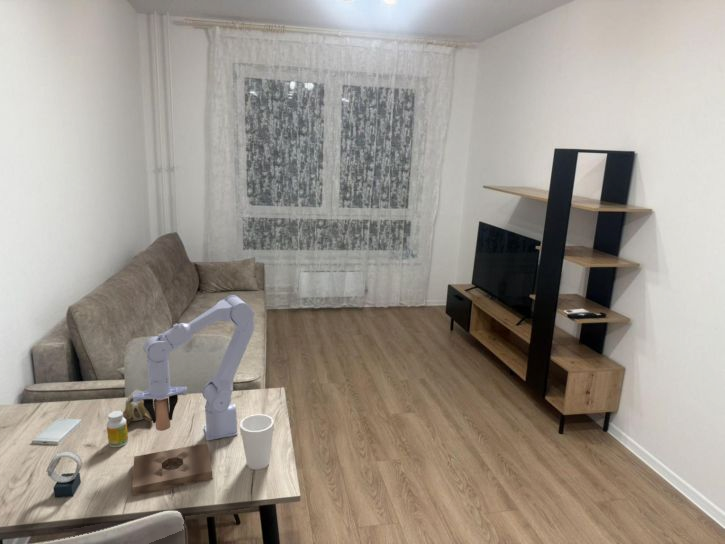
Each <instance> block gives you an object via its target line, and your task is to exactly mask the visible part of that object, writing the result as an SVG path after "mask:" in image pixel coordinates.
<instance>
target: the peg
mask: <svg viewBox="0 0 725 544" xmlns="http://www.w3.org/2000/svg"><path fill="white" fill-rule="evenodd" d="M153 404H154V411H155V423H154V424H155V429H156V431H159V432H161V431H166V430H168V429H170V428H171V420H170V415H169V397H166V398H164V399H163V400H156V399H153Z"/></svg>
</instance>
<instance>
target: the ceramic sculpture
mask: <svg viewBox="0 0 725 544" xmlns="http://www.w3.org/2000/svg"><path fill="white" fill-rule="evenodd" d="M140 392H143V391H142V390H140V389H139V388H135V390H134V391H132V392H131V393H130V395H128V397H127V400H126V401H125V409H124V411H122V412H123V417H124V418H125V419H126V423H127V426H128V425H129V424H131V421H132V422H137V421H142V420H144V419H145V421H147V422H153V421H152V418H151V416H150V414H149V412H148V411H147V409H146V408H145V407H144V401H138V402H137V403H133V394H136V393H140ZM154 412H155V411H154Z"/></svg>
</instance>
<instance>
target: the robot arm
mask: <svg viewBox="0 0 725 544" xmlns="http://www.w3.org/2000/svg"><path fill="white" fill-rule="evenodd" d="M254 315H255V311H253V309H252V307H251V306H250V304H248V303H246V302H245V301H243V300H242V299H241V298H240V297H239V296H237V295H228V296H227V297H226V298H224V299H221V300H219V301H218V302H217V303H216V304H215V305H213V306H212V307H211V308H209V309H207V310H206V311H205V312H203V313H201V314H200V315H199V316H197V317H195V318H194V319H193V320H190V321H189V322H188V323H186V322H185V323H184V322H180V323H174V324H173V325H172V326H173V327H171V328H170V329H168V330H166V331H164V332H163V333H161V332H160V333H159V334H157V335H156V336H151V337H149V338H147V340H146V342H145V343H144V345H143V347H142V348H143V351H144V352H145V353H146V366H147V380H148V389H147V390H144V391H142V392H140V393H136V394H133V403H137V402H138V401H144V407H145V408H146V409H147V411H148V412H149V414H150V416H151V418H152V421H151V422H152V423H153V424H156V423H155V412H154V399H156V400H163V399H164V398H166V397H168V402H169V415H170V421H172V420H173V417H174V411H175V407H176V405H177V404H178V400H179V398H178V397H179V396H187V395H188V389H187V388H188V387H187V386H171V379H170V378H171V377H170V367H169V365H170V364H169V363H170V362H169V359H168V358H169V356H170V355H171V353H172V352H173V351H174V350H176V349H178V348H179V347H181V346H183V345H185V344H186V343H188V342H190V341H191V340H192V339H193V336H194V335H195V334H196V333H197V332H199V331H201V330H203V329H205V328H206V327H208V326H211V325H213V324H215V323H217V322H218V321H221V322H228V323H231V322H232V324H233V326H234V327H235V329H234V332H233V334H232V336H231V339H230V341H229V343H228V345H227V348H226V350H225V352H224V355H223V357H222V360H221V362H220V364H219V367H218V369H217V372H216V374H214V375H213V376H210V379H209V381H208V382H207V383H206V384H205V385H204V387H203V388H202V391H201V392H202V397H203V398H204V399H205V400H206V401H205V406H204V411H205V415H204V416H205V426H204V435H205V440H206V441H211V440H216V439H222V438H228V437H233V436H238V418H237V417H238V416H237V415H238V414H237V407H236V403H235V402H234V403H231V402H232V394H233V390H234V389H233V380H234V378H235V375H236V373H237V370H238V369H239V366H240V363H241V362H242V359H243V357H244V355H245V353H246V349H247V347H248V345H249V342H250V341H251V338H252V335H253V333H254V331H255V323H254Z"/></svg>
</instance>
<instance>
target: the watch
mask: <svg viewBox="0 0 725 544" xmlns="http://www.w3.org/2000/svg"><path fill="white" fill-rule="evenodd" d="M62 458H68V459H70V460H73V461H74V462H75V463H76V469H75V471H74V472H70V473H69V472H68V473H61V475H60V474H59V473H57V472H56V471H55V469H56V467H57V466H58V465H59V463H60V461H61V459H62ZM82 467H83V461H82V458H81V456H80V455H79V454H78V453H76V452H74V451H71V450H61V451H60V452H56V453H55V455H54V456H53V457H52V459H51V461H50V462H49V464H48V466H47V468H46V471H45V472H47V476H48V477H49V478H50V479H51V480H52V481H54V482H56V483H55V484H54V486H53V494H54V495H53V496H54V499H59V498H71V497H74V495H75V494H76V492H77V490H78V488H79V487H80V485H81V483H82V482H81V473H80V471H81V469H82Z"/></svg>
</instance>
